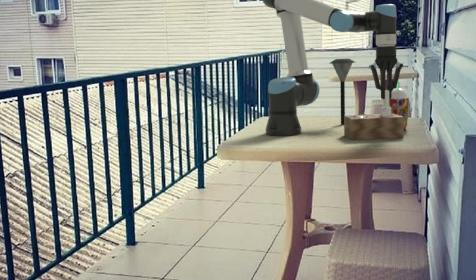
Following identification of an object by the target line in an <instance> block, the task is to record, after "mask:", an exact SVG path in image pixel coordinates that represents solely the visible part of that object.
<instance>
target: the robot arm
mask: <svg viewBox="0 0 476 280" xmlns="http://www.w3.org/2000/svg"><path fill="white" fill-rule="evenodd" d="M261 1H262V2H263V4H264V5H265V6H266V7H267V8H269V9H274V10H275V11H276V16H277V17H278V18H279V19H280V23H281V27H282V28H281V29H282V34H283V35H282V36H283V41H284V49H285V56H286V62H287V69H288V74H287V75H286V76H284V77H278V78H274V79H271V80H270V81H269V82H268V87H267V88H268V89H267V93H268V111H269V113H268V114H269V115H268V120H267V123H266V127H265V135H267V136H275V137H276V136H281V137H283V136H284V137H285V136H294V135H295V136H296V135H300V134H301V133H302V126H301V124H300V120H299V118H298V114H297V113H298V112H297V111H298V110H297V107H302V106H309V105H311V104H313V103H314V102H315V101H316V100H317V99H318V97H319V94H320V85H319V83H318V81H316V79H315V78H314V75H313V72H312V71H310V70H309V68H308V67H309V66H308V60H307V53H306V46H305V39H304V32H303V25H302V17H303V18H305V19H309V20H311V21H314V22H317V23H319V24H321V25H325V26H327V27H329V28H332V29H331V30H333V31H336V32H339V33H348V32H349V33H365V32H375V45H376V48H375V59H374V63H371V64H369V66H368V68H369V69H370V71H371V73H372V78H373V81H374V86H375V89H377V90H379V91H380V99H382V101H383V102H382V103H383V104H382V107H385V108H388V107H389V99H391V97H392V91H393V90H395V89H397V88H398V82H399V79H400V73H401V70H402V68H403V67H404V63H403V62H402V63H401V62H399V61H398V58H397V46H396V45H397V17H398V16H397V7H396V5H395V4H392V3H388V4H387V3H385V4H378V5H376V6H375V10H372V11H350V10H349V11H348V10H345V9H341V8H339V7H336V6H333V5H332V4H331V5H330V4H328V3H325V2H322V1H319V0H261ZM377 68H378V69H379V73H380V75H379V74H378V70H377ZM394 68H395V70H394V74H393V69H394ZM379 78H380V79H379Z"/></svg>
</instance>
